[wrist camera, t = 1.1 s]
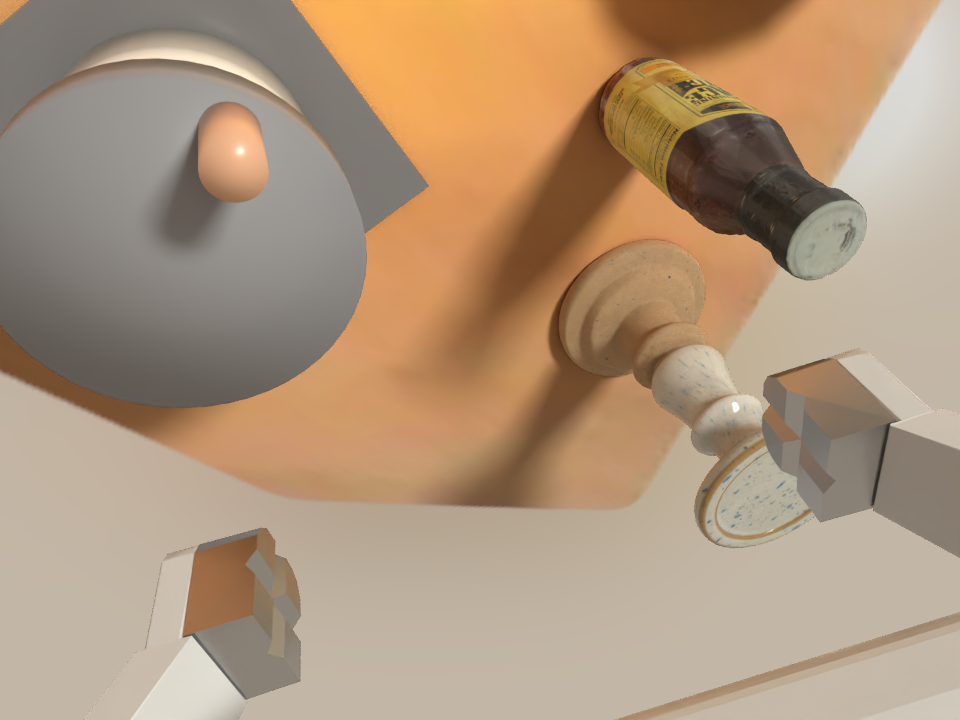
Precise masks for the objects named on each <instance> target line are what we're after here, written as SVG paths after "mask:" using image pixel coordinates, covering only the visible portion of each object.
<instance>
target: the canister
mask: <svg viewBox="0 0 960 720" xmlns="http://www.w3.org/2000/svg"><path fill="white" fill-rule="evenodd" d="M152 58H161V59H173V60H184V61H190V62H195V63H200V64H204V65H209V66H214V67H217V68H219V69H222V70H225V71H228V72H231V73H234V74H237V75H240V76H242V77H244V78H246V79H248V80H250V81H252V82H254V83H256V84H258V85H261V86H263V87H264V88H266V89H268V90H269V91H271V92H272V93H274V94H275V95H277V96H278V97H280V98H282V99H283V100H285V101H286V102H287V103H288V104H290V105H291V106H292V107H293V108H294V109H296V110H297V111H298V112H299V113H301V114H302V115H303V116H304V117H305V118H306V119H307V120H308V121H309V122H310V123H311V124H312V125H313V126H314V127H315V129H316V130H317V131H318V132H319V133H320V134H321V135H322V137H323V138H324V139H325V141H326V142H327V143H328V145H329V146H330V148H331V149H332V150H333V152H334V153H335V155H336V157H337V159H338V161H339V163H340V165H341V166H342V168H343V170H344V172H345V175H346V177H347V180H348V183H349V185H350V188H351V191H352V193H353V196H354V199H355V201H356V204H357V207H358V210H359V212H360V215H361V218H362V223H363V227H364V232H365V233H366V232H367V231H368V230H370V229H371V228H372V227H374V226H375V225H376V224H378V223H379V222H381V221H382V220H383V219H385V218H386V217H387V216H389V215H390V214H391V213H393V212H394V211H395V210H397V209H398V208H400V207H401V206H402V205H404V204H405V203H406V202H408V201H409V200H410V199H412V198H413V197H415V196H416V195H417V194H419V193H420V192H421V191H423V190H424V189H425V188H427V187H428V184H427V182H426V181H425V180H424V178H423V177H422V176H421V174H420V173H419V172H418V170H417V169H416V168H415V166H414V165H413V164H412V162H411V161H410V160H409V158H408V157H407V156H406V154H405V153H404V151H403V150H402V149H401V147H400V146H399V145H398V143H397V142H396V141H395V139H394V138H393V137H392V135H391V134H390V133H389V131H388V130H387V129H386V127H385V126H384V125H383V123H382V122H381V121H380V119H379V118H378V117H377V115H376V114H375V112H374V111H373V110H372V108H371V107H370V106H369V104H368V103H367V102H366V100H365V99H364V98H363V96H362V95H361V94H360V92H359V91H358V90H357V88H356V87H355V86H354V84H353V83H352V82H351V80H350V79H349V78H348V76H347V75H346V73H345V72H344V71H343V69H342V68H341V67H340V65H339V64H338V63H337V61H336V60H335V59H334V57H333V56H332V55H331V53H330V52H329V51H328V49H327V48H326V47H325V45H324V44H323V43H322V41H321V40H320V39H319V37H318V36H317V34H316V33H315V32H314V30H313V29H312V28H311V26H310V25H309V24H308V22H307V21H306V20H305V18H304V17H303V16H302V14H301V13H300V12H299V10H298V9H297V8H296V6H295V5H294V4H293V2H292V1H291V0H29V1H28V2H27V3H25V4H24V5H23V6H22V7H21V8H20V9H18V10H17V11H16V12H15V13H14V14H13V15H11V16H10V17H9V18H8V19H7V20H5V21H4V22H3V23H2V24H1V25H0V135H1V133H2V132H3V131H4V129H5V128H6V126H7V125H8V124H9V122H10V121H11V120H12V118H13V117H14V116H15V115H16V114H17V113H18V112H19V111H20V110H21V109H22V108H23V107H24V106H25V105H26V104H27V103H28V102H29V101H30V100H31V99H32V98H34V97H35V96H36V95H38V94H39V93H41V92H42V91H44V90H45V89H46V88H48V87H49V86H51V85H52V84H54V83H56V82H58V81H60V80H62V79H64V78H66V77H68V76H70V75H72V74H74V73H76V72H79V71H83V70H86V69H89V68H92V67H95V66H98V65H101V64H106V63H112V62H118V61H123V60H129V59H152Z"/></svg>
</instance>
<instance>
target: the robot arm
mask: <svg viewBox="0 0 960 720" xmlns="http://www.w3.org/2000/svg"><path fill="white" fill-rule="evenodd" d="M763 396H764V397H765V398H766V400H767V401H768V402H769V403H770V406H769V407H768V409H767V410H766V411H765V413H764V414H763V415H762V433H763V436H764V440H765V443H766V447H767V449H768V451H769V453H770V455H771V457H772V459H773V460H774V462H775V463H776V464H777V466H778V467H779V468H780V470H781V471H783V472H785V473H788V474H790V475H792V476H795V477H797V490H796V491H797V493H798V494H799V495H800V496H801V498H802V499H803V500H804V502H805V503H806V504H807V506H808V507H809V508H810V510H811V511H812V512H813V514H814V515H815V516H816V517H817V518H818V520H819V521H820V522H823V521H827V520H831V519H834V518H838V517H841V516H845V515H849V514H852V513H856V512H860V511H863V510H867V509H870V508H873V511H875V512H877V513H878V514H880V515H882V516H884V517H886V518H888V519H889V520H891V521H893V522H895V523H897V524H899V525H901V526H902V527H904V528H906V529H908V530H910V531H912V532H913V533H915V534H917V535H919V536H921V537H923V538H924V539H926V540H928V541H930V542H932V543H934V544H935V545H937V546H939V547H941V548H943V549H945V550H946V551H948V552H950V553H952V554H954V555H956V556H957V557H959V558H960V414H958V413H954V412H951V411H948V410H945V409H939V410H936V411H932V410H931V409H930V408H929V407H928V406H927V405H926V404H925V403H924V402H922V401H921V400H920V399H919V398H918V397H917V396H916V395H915V394H914V393H913V392H911V391H910V390H909V389H908V388H907V387H906V386H905V385H904V384H903V383H901V382H900V381H899V380H898V379H897V378H896V377H895V376H894V375H893V374H892V373H890V372H889V371H888V370H887V369H886V368H885V367H884V366H883V365H882V364H880V363H879V362H878V361H877V360H876V359H875V358H874V357H872V355H870V354H869V353H868V352H867V351H865V350H862V349H860V348H858V349H854V350H851V351H848V352H845V353H841V354H838V355H835V356H832V357H829V358H827V359H822V360H819V361H815V362H812V363H809V364H806V365H802V366H799V367H796V368H793V369H790V370H786V371H783V372H780V373H777V374H773V375H770V376H768V377H767V378H766V380H765V382H764V390H763ZM300 614H301V613H300V596H299V590H298V585H297V581H296V578H295V575H294V573H293V570H292V568H291V566H290V565H289V563H288V561H287V559H285V558H283V557H280V556H278V555H275V540H274V539H273V537H272V536H271V534H270V533H269V531H268V530H267V528H259V529H255V530H251V531H248V532H244V533H240V534H237V535H234V536H229V537H226V538H222V539H218V540H215V541H211V542H207V543H204V544H200V545H199V546H195V547H191V548H188V549H184V550H180V551H177V552H173V553H169V554H167V556H166V557H165V559H164V560H163V562H162V564H161V569H160V574H159V579H158V584H157V590H156V595H155V600H154V605H153V611H152V615H151V621H150V626H149V631H148V636H147V641H146V647H145V649H144V650H141V651H138V652H135V653H134V655H133V656H132V657H131V659H130V660H129V661H128V662H127V664H126V665H125V666H124V668H123V669H122V670H121V672H120V673H119V674H118V676H117V677H116V678H115V679H114V681H113V682H112V683H111V685H110V686H109V687H108V689H107V690H106V691H105V692H104V694H103V695H102V696H101V698H100V699H99V700H98V702H97V703H96V704H95V705H94V707H93V708H92V709H91V711H90V712H89V713H88V714H87V716H86V717H85V718H84V720H239V718H240V716H241V714H242V712H243V710H244V708H245V706H246V704H247V701H246V699H249V698H252V697H255V696H258V695H261V694H264V693H267V692H270V691H273V690H275V689H279V688H282V687H285V686H288V685H291V684H294V683H297V682H300V656H301V653H300V651H301V650H300V649H301V648H300V647H301V645H300V644H301V642H300V640H299V639H298V637H297V635H296V634H295V632H294V631H293V627H294V626H295V624H296V623H297V621H298V619H299V618H300V616H301V615H300ZM616 720H960V612H959V613H956V614H952V615H949V616H946V617H943V618H940V619H936V620H933V621H930V622H927V623H924V624H921V625H917V626H914V627H911V628H908V629H904V630H901V631H898V632H895V633H892V634H888V635H885V636H882V637H879V638H876V639H873V640H869V641H866V642H863V643H860V644H856V645H853V646H850V647H847V648H844V649H840V650H837V651H834V652H831V653H828V654H824V655H821V656H818V657H815V658H811V659H808V660H805V661H802V662H798V663H796V664H792V665H789V666H786V667H783V668H779V669H776V670H773V671H770V672H766V673H764V674H760V675H757V676H754V677H751V678H747V679H744V680H741V681H738V682H734V683H731V684H728V685H725V686H722V687H718V688H715V689H712V690H709V691H706V692H702V693H699V694H696V695H693V696H690V697H686V698H683V699H680V700H677V701H674V702H670V703H667V704H664V705H661V706H657V707H654V708H651V709H648V710H645V711H641V712H639V713H635V714H632V715H629V716H626V717H623V718H619V719H616Z"/></svg>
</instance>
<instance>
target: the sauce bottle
mask: <svg viewBox="0 0 960 720" xmlns="http://www.w3.org/2000/svg"><path fill="white" fill-rule="evenodd" d="M599 111H600V112H599V123H600V127H601V128H602V130H603V132H604V134H605V135H606V137H607V138H608V139H609V141H610V143H611V144H612V146H613V147H614V148H615V149H616V150H617V151H618V152H619V153H620V154H621V155H623V156H624V157H625V158H626V159H627V160H628V161H629V162H630V163H631V164H632V165H633V166H634V167H635V168H637V169H638V170H639V171H640V172H641V173H642V174H643V175H644V176H645V177H646V178H648V179H649V180H650V181H651V182H652V183H653V184H654V185H655V186H656V187H658V188H659V189H660V190H661V191H662V192H663V193H664V194H665V195H666V196H667V197H668V198H670V199H671V200H672V201H673V202H674V203H675V204H676V205H677V206H679V207H680V208H681V209H685V210H686V211H687V212H689V213H690V215H692V216H693V217H694V218H695V220H697V221H698V222H699V223H700V224H702V225H703V226H705V227H707V228H708V229H710V230H712V231H714V232H715V233H720V234H727V235H735V234H738V235H744V234H746V235H747V236H749V237H750V238H752V239H753V240H755V241H758V242H759V243H761V244H762V245H763V246H764V247H765V248H767V249H768V250H769V251H770V252H771V254H772V256H773V259H774V260H775V261H776V263H777V264H779V265H780V266H781V267H782V268H784V269H785V270H786V271H787V272H789V273H790V274H791V275H793V276H795V277H797V278H800V279H804V280H816V279H821V278H823V277H825V276H827V275H829V274H832V273H834V272H836V271H837V270H839V269H840V268H842V267H843V266H844V265H845V264H846V263H847V262H848V261H849V260H850V259H851V258H852V257H853V256H854V255H855V254H856V252H857V250H858V249H859V247H860V245H861V244H862V241H863V240H864V237H865V232H866V227H867V224H866V222H867V219H866V214H865V211H864V209H863V207H862V206H861V205H860V204H859V203H858V202H857V201H856V200H854V199H853V198H851V197H850V196H849V195H848V194H846V193H844V192H843V191H842V190H839V189H836V188H829V187H827V186H826V185H824V184H823V183H821V182H819V181H818V180H816V179H815V178H812V177H811V176H810V175H809V174H808V172H807V171H805V169H804V167H803V165H802V163H801V161H800V160H799V158H798V156H797V154H796V152H795V151H794V149H793V147H792V145H791V144H790V142H789V140H788V138H787V136H786V134H785V132H784V131H783V129H782V127H781V126H780V125H779V124H778V123H777V122H776V121H775V120H774V119H772V118H770V117H769V116H767V115H765V114H764V113H762V112H760V111H759V110H757V109H755V108H753V107H752V106H750V105H748V104H746V103H745V102H743V101H741V100H740V99H738V98H737V97H734V96H733V95H731V94H730V93H728V92H726V91H724V90H722V89H721V88H719V87H717V86H716V85H714V84H712V83H710V82H708V81H707V80H705V79H703V78H701V77H700V76H698V75H696V74H695V73H693V72H691V71H689V70H688V69H686V68H684V67H683V66H681V65H679V64H677V63H675V62H673V61H670V60H664V59H657V58H640V59H636V60H634V61H632V62H630V63H628V64H626V65H625V66H624V67H623V68H622V69H621V70H620V71H619V72H617V73H616V74H615V75H614V76H613V77H612V78H611V79H610V81H609V82H608V84H607V86H606V88H605V90H604V92H603V95H602V98H601V103H600V107H599Z"/></svg>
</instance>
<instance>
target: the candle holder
mask: <svg viewBox="0 0 960 720" xmlns="http://www.w3.org/2000/svg"><path fill="white" fill-rule="evenodd" d="M705 292H706V286H705V278H704V275H703V272H702V269H701V267H700V265H699V264H698V262H697V260H696V259H695V258H694V257H693V256H692V255H691V254H690V253H689V252H688V251H687V250H685V249H684V248H682V247H681V246H679V245H676V244H674V243H671V242H669V241H664V240H658V239H645V240H639V241H633V242H630V243H627V244H623V245H621V246H619V247H616V248H614V249H612V250H610V251H608V252H607V253H605V254H603V255H602V256H600V257H599V258H598V259H596V260H595V261H594V262H592V263H591V264H590V265H589V266H588V267H587V268H586V269H585V270H584V271H583V272H582V273H581V274H580V275H579V276H578V278H577V279H576V280H575V281H574V283H573V284H572V286H571V287H570V289H569V291H568V292H567V294H566V297H565V299H564V301H563V304H562V307H561V311H560V315H559V325H558V326H559V336H560V339H561V343H562V346H563V348H564V350H565V351H566V353H567V355H568V356H569V357H570V358H571V360H572V361H573V362H574V363H575V364H576V365H578V366H579V367H580V368H582V369H584V370H586V371H588V372H590V373H593V374H597V375H601V376H622V375H627V374H632V373H633V374H634V376H635V378H636V380H637V381H638V382H639V383H640V384H641V385H642V386H644V387H646V388H649V389H651V390H652V394H653V397H654V399H655V401H656V402H657V404H658V405H659V406H660V407H662V408H663V409H664V410H666V411H667V412H669V413H670V414H672V415H674V416H676V417H677V418H679V419H680V420H681V421H683V422H684V423H685V424H686V425H688V426H689V427H690V428H691V429H692V431H691V441H692V444H693V446H694V447H695V449H697V451H699V452H700V453H702V454H705V455H710V456H717V457H718V458H719V459H720V460H719V461H718V462H717V463H716V464H715V465H714V467H713V468H712V469H711V470H710V472H709V473H708V474H707V476H706V477H705V479H704V481H703V482H702V484H701V486H700V488H699V490H698V493H697V496H696V499H695V505H694V513H695V519H696V523H697V525H698V527H699V529H700V531H701V532H702V533H703V534H704V536H705V537H706V538H708V540H710V541H711V542H713V543H715V544H716V545H719V546H723V547H729V548H743V547H749V546H755V545H759V544H763V543H766V542H769V541H772V540H774V539H777V538H779V537H781V536H783V535H786V534H788V533H790V532H791V531H793V530H795V529H797V528H799V527H800V526H802V525H803V524H805V523H806V522H808V521H809V520H811V519H812V518H813V517H814V516H815V515H814V514H813V512H812V511H811V510H810V508H809V507H808V506H807V504H806V503H805V502H804V500H803V499H802V498H801V496H800V495H799V494H798V493H797V491H796V490H797V477H795V476H792V475H790V474H788V473H785V472H783V471H781V470H780V468H779V467H778V466H777V464H776V463H775V462H774V460H773V459H772V457H771V455H770V453H769V451H768V449H767V447H766V443H765V440H764V436H763V433H762V423H761V422H762V415H763V408H762V405H761V403H760V402H759V400H757V399H756V398H755V397H753V396H751V395H748V394H740V393H739V391H738V390H737V388H736V386H735V384H734V382H733V380H732V378H731V375H730V373H729V369H728V367H727V364H726V362H725V359H724V358H723V356H722V355H721V354H720V353H719V352H718V351H717V350H716V349H714V348H712V347H710V346H708V341H707V337H706V334H705V333H704V331H703V330H702V329H701V328H700V327H699V326H697V325H695V324H696V322H697V321H698V319H699V316H700V314H701V311H702V309H703V305H704V301H705Z"/></svg>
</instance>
